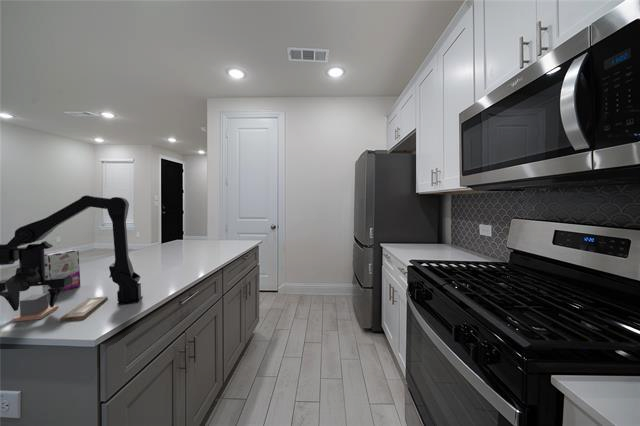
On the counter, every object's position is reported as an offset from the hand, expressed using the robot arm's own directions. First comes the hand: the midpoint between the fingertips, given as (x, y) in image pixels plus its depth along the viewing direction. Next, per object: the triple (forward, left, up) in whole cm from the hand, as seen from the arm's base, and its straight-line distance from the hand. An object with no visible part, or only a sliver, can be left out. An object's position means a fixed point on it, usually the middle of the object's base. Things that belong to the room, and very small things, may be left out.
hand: (34, 308), depth 88 cm
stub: (-1, 0, -2) cm, 2 cm away
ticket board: (-14, 0, -2) cm, 14 cm away
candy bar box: (+6, -28, -2) cm, 29 cm away
